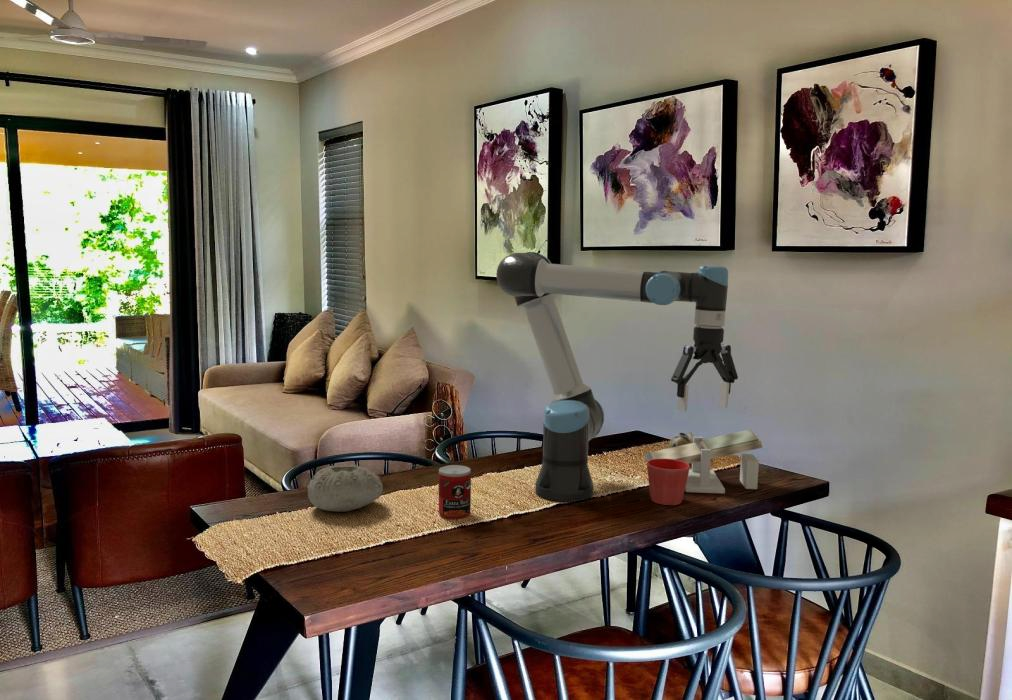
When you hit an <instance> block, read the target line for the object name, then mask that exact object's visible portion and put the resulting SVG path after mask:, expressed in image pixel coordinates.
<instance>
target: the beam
mask: <svg viewBox="0 0 1012 700" xmlns="http://www.w3.org/2000/svg"><path fill="white" fill-rule="evenodd" d="M762 448H763V444H762V440H761V439H760V437H758V435H756V434H755V433H754V432H753V431H752V430H751V429H745V430H741V431H735V432H733V433H732V432H731V433H728V434H722V435H719V436H714V437H710V438H705V439H704V438H703V441H697V442H695V443H690V444H686V445H681V446H677V447H672V448H668V449H663V448H662V449H663V450H661V449H659V450H655V451H647V452H644V457H645V461H646V463H647V462H648V461H649V460H652V459H674V460H679V461H683V462H686V463H688V464H689V465H690V464H692V463H695V462H699V461H701V449H711V460H712V459H716V458H721V457H725V456H731V455H736V454H741V453H746V452H750V451H753V450H754V451H755V450H758V449H762Z"/></svg>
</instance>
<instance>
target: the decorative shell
mask: <svg viewBox="0 0 1012 700" xmlns="http://www.w3.org/2000/svg"><path fill="white" fill-rule="evenodd" d="M380 479H381V477H380V476H379V475H378V474H376V473H375V472H374V471H373V470H372V469H369V468H367V467H365V466H364V467H363V466H360V465H359V466H358V465H357V464H347V465H342V466H339V465H330V466H326V467H324V468H321V469H320V470H318V471H317V472H316V473H315V474H314V475H313V476H312V478H311V479H310V481H309V483H308V485H307V487H306V489H307V493H308V494H307V496H308V499H309V501H310V503H311V504H312V505H313V506H314V507H316V508H317V509H320V510H322V511H327V512H339V513H340V512H341V513H342V512H343V513H344V512H350V511H353V510H357V509H361V508H362V507H365V506H368V505H369V504H372V503H373V502H374V501H376V500H379V498H380V497H381V496H382V493H383V488H384V485H383V483H382V481H381V480H380Z"/></svg>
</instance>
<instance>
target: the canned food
mask: <svg viewBox="0 0 1012 700" xmlns="http://www.w3.org/2000/svg"><path fill="white" fill-rule="evenodd" d="M471 491H472V470H471V468H470V467H468V466H466V465H460V464H451V465H444V466H442V467H440V468H439V470H438V514H439V516H440V517H441V518H444V519H446V520H447V519H448V520H461V519H464V518H467V517H469V516H470V514H471V510H472V509H471V506H472V505H471V501H472V499H471V496H472V495H471V494H472V493H471Z"/></svg>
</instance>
